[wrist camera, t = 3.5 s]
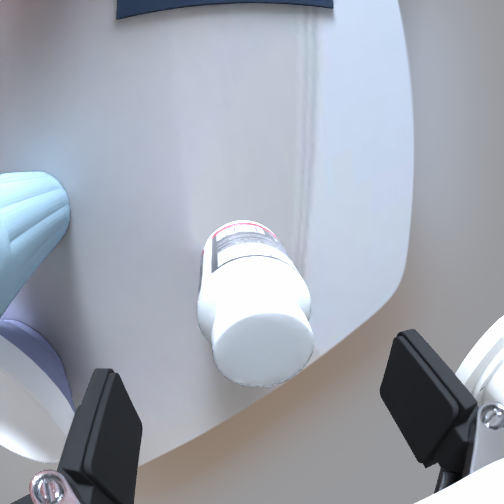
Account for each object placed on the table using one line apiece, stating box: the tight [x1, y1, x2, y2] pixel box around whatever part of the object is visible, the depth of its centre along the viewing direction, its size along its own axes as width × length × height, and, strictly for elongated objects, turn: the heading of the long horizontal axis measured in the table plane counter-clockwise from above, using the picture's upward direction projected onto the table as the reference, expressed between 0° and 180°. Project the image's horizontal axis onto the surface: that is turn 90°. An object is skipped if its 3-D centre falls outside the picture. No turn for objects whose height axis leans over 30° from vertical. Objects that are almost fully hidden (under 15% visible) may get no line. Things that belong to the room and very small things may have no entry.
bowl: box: [0, 319, 76, 464], centre depth 18 cm, size 14×14×8 cm
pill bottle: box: [197, 221, 314, 387], centre depth 16 cm, size 5×5×10 cm
